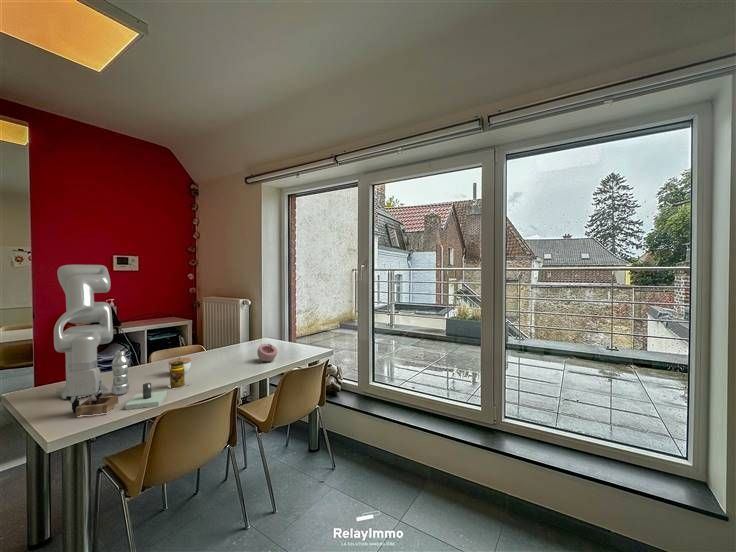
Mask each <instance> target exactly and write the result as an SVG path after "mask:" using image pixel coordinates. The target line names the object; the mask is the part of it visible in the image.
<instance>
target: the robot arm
mask: <svg viewBox="0 0 736 552" xmlns="http://www.w3.org/2000/svg"><path fill="white" fill-rule="evenodd" d="M57 279H58V283H59V284H60V287H61V288H62V290H63V292H64V294H65V309H66V310H65V311H66V312H64V313H63V314H62V315H61V316H60V317H59V318H58V319H57V321H56V323H55V325H54V328H53V346H54V349H55V351H56V352H57V353H64V354H65V386H58V387H56V388H55V393H56V394H57V393H58V394H59V393H61V394H60V395H61V399H62V398H63V399H62V400H64V399H68V400H67V401H69V402H70V403H71V410H72V413H73V414H76V407H78V406H79V405H80V399H82V398H81V397H84V398H87V397H86V396H88V397H90V398H92V399H93V401H91V405H96V404H98V398H100V397H103V395H104V394H105V393H106V392H107V391H109V388H107V387H106V386H105V385H104V384H103V382H102V381H103V380H102V375H101V373H102V372H101V369H100V367H99V366H98V347H99V345H105V344H109V343H111V342H113V339H114V329H113V326H114V323H113V314H112V312H113V311H112V307H111V305H110V303H109V302H107V301H95V294H97V293H98V294H100V293H102V294H103V293H104V294H105V293H108V292H110V290H111V286H112V285H111V283H112V282H111V277H110V274H109V271H108V268H107V266H105V265H102V264H65V265H61V266H60V267H58V269H57ZM67 323H70V324H87V323H96V324H87V325H77V326H71V327H68V328H66V329H65V328H64V327H65V325H66V324H67ZM97 323H99V324H97ZM64 329H65V330H64ZM99 391H100V392H99ZM89 395H91V396H89ZM78 398H80V399H78Z"/></svg>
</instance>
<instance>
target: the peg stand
mask: <svg viewBox="0 0 736 552" xmlns="http://www.w3.org/2000/svg"><path fill="white" fill-rule="evenodd" d="M167 397H168V391H167V390H165V391H164V390H163V391H154V392H152V382H146V383H143V384H142V392H141V393H136V394H135V395H134V396H133V397H132V398H131V399H130V400H129V401H128V402H126V403H125V404H124V410H125V409H129V410H133V409H132V408H138V409H144V408H143V407H147V408H155V407H156V408H157V407H160V405H161V404H162V403H163V401H164V400H165V399H166V398H167ZM161 402H162V403H161Z"/></svg>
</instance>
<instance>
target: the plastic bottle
mask: <svg viewBox="0 0 736 552" xmlns="http://www.w3.org/2000/svg"><path fill="white" fill-rule="evenodd" d="M114 356H115V357H114V358H113V360H112V362H111V369H112V374H113V375H112V377H113V378H112V385H111V393H112V395H113V396H114V395H118V396H119V395H123V394H126V393H128V392H129V390H130V383H129V378H128V377H129V376H128V372H129V371H128V370H129V369H128V368H129V363H130V361H129V359H128V357H127V356H126V350H124V349H121V350H120V349H119V350H116V351H115V353H114Z"/></svg>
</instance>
